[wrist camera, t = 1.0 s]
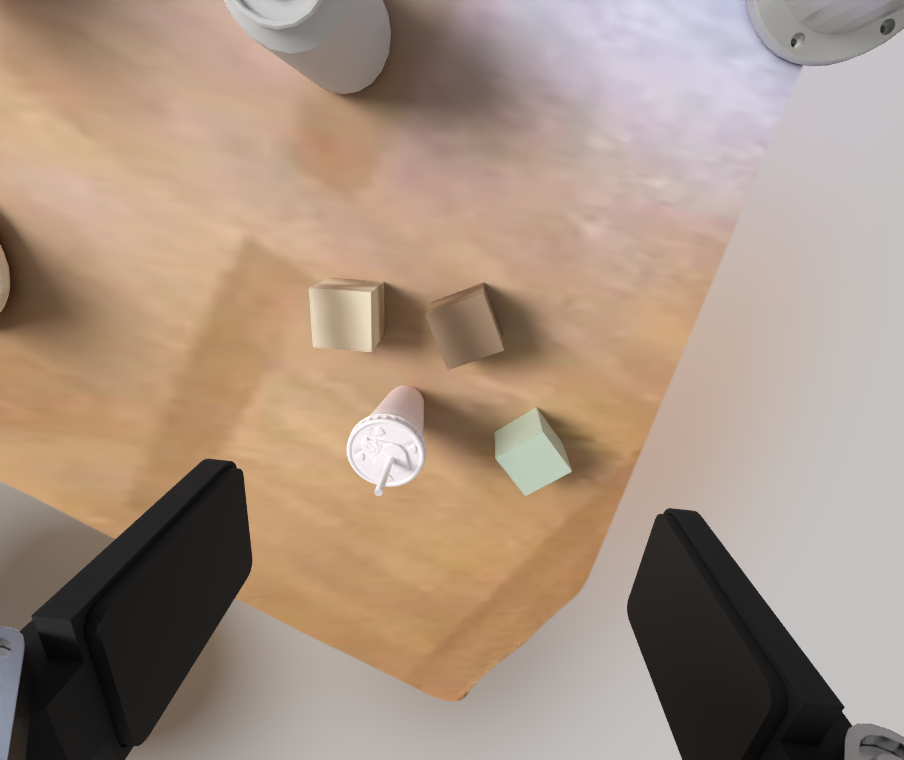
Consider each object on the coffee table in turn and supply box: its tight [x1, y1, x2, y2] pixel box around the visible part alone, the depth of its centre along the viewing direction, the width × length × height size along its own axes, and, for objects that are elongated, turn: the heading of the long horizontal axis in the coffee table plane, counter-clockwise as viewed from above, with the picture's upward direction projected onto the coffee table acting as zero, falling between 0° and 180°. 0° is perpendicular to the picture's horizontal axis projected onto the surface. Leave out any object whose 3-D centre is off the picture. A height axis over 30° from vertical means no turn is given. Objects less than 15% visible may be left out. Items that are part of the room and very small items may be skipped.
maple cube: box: [309, 278, 384, 352], centre depth 37 cm, size 5×5×5 cm
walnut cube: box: [425, 283, 504, 370], centre depth 37 cm, size 5×5×5 cm
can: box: [224, 0, 391, 94], centre depth 26 cm, size 8×8×12 cm
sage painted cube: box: [494, 407, 572, 496], centre depth 41 cm, size 5×5×5 cm
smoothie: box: [347, 385, 426, 496], centre depth 36 cm, size 6×6×14 cm
